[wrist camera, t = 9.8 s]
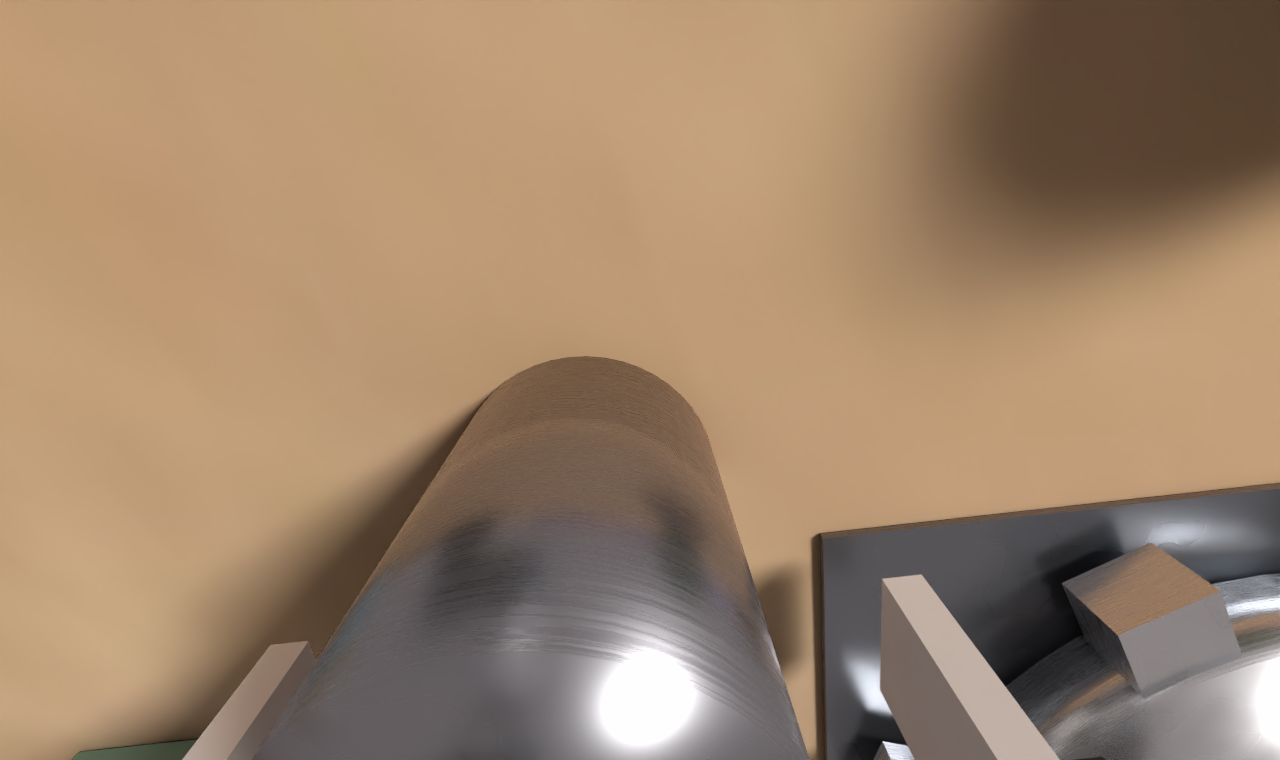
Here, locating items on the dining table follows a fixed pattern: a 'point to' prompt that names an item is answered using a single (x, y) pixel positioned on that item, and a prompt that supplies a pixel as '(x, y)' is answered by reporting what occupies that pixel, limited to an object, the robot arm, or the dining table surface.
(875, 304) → the dining table surface
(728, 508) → the silver capsule block
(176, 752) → the green flat board
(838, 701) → the bearing plate
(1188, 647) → the sprocket
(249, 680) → the robot arm
